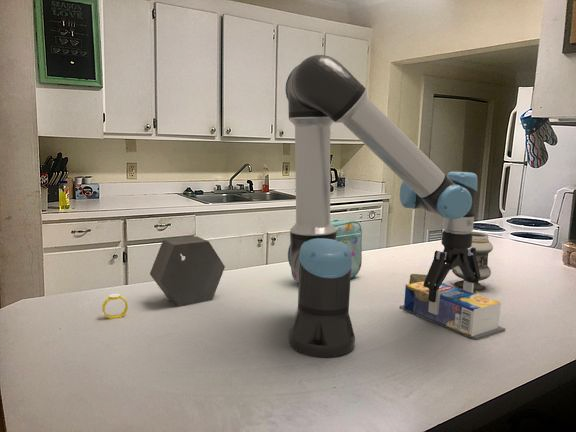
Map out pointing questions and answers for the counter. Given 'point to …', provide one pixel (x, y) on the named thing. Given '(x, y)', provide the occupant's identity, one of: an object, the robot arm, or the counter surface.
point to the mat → (475, 337)
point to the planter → (187, 270)
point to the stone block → (417, 278)
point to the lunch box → (348, 242)
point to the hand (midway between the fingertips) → (450, 309)
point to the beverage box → (455, 308)
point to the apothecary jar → (482, 251)
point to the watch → (113, 297)
